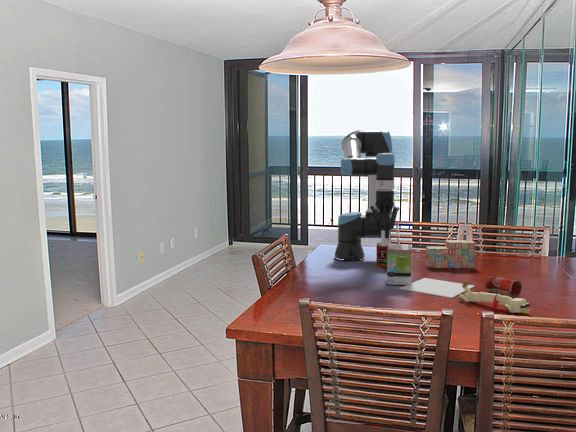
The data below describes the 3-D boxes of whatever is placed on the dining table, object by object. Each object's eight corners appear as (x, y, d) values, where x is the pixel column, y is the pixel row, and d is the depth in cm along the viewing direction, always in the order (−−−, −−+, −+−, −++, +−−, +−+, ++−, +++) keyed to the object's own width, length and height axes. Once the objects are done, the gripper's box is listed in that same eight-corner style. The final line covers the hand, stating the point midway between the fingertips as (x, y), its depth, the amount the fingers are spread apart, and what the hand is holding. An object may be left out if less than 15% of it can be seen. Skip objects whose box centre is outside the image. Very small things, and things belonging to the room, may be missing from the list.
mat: (399, 289, 221) (399, 288, 221) (424, 278, 238) (424, 277, 238) (451, 298, 207) (451, 297, 207) (474, 286, 223) (474, 285, 223)
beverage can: (493, 290, 218) (493, 273, 217) (521, 296, 208) (522, 279, 208) (482, 293, 214) (483, 276, 213) (511, 300, 204) (511, 282, 203)
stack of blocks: (428, 268, 259) (428, 242, 257) (425, 265, 265) (426, 240, 263) (474, 268, 257) (475, 242, 256) (470, 265, 264) (471, 239, 262)
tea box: (411, 285, 225) (411, 249, 223) (386, 285, 227) (386, 249, 225) (411, 277, 239) (411, 243, 238) (387, 277, 241) (387, 243, 240)
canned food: (374, 267, 261) (374, 244, 260) (379, 264, 268) (379, 241, 267) (389, 269, 257) (390, 245, 256) (395, 265, 264) (395, 242, 263)
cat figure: (455, 306, 201) (522, 316, 182) (454, 282, 201) (521, 290, 182) (470, 301, 208) (536, 310, 189) (469, 278, 207) (535, 285, 188)
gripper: (366, 190, 234) (366, 245, 237) (394, 191, 226) (393, 248, 229) (376, 189, 240) (375, 242, 243) (403, 190, 232) (402, 246, 234)
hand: (384, 245), depth 236 cm, fingers closed
